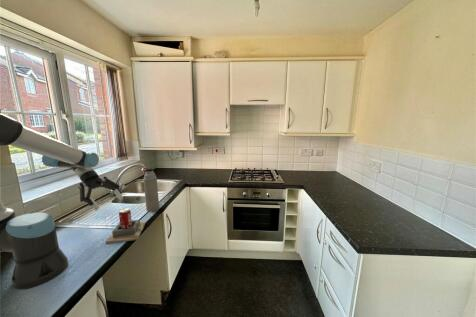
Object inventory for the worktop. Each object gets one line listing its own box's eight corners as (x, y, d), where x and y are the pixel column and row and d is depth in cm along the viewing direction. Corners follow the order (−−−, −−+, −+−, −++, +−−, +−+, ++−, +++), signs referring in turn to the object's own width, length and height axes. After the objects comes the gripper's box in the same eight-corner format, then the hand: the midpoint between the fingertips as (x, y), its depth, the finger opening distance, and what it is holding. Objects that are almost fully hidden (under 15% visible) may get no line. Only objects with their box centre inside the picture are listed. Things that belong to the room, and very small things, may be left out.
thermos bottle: (151, 205, 132) (148, 167, 127) (161, 206, 131) (158, 168, 126) (143, 211, 125) (139, 170, 119) (154, 212, 123) (150, 171, 118)
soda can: (130, 226, 104) (127, 206, 102) (134, 230, 101) (131, 209, 98) (119, 230, 100) (117, 210, 98) (123, 234, 97) (120, 213, 94)
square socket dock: (137, 239, 94) (136, 232, 93) (105, 243, 91) (104, 235, 91) (145, 223, 110) (144, 216, 109) (119, 226, 107) (118, 219, 106)
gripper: (106, 172, 115) (127, 199, 114) (57, 185, 92) (82, 218, 90) (111, 165, 113) (133, 191, 111) (62, 176, 90) (88, 209, 88)
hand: (110, 203), depth 101 cm, fingers open, 13 cm apart
